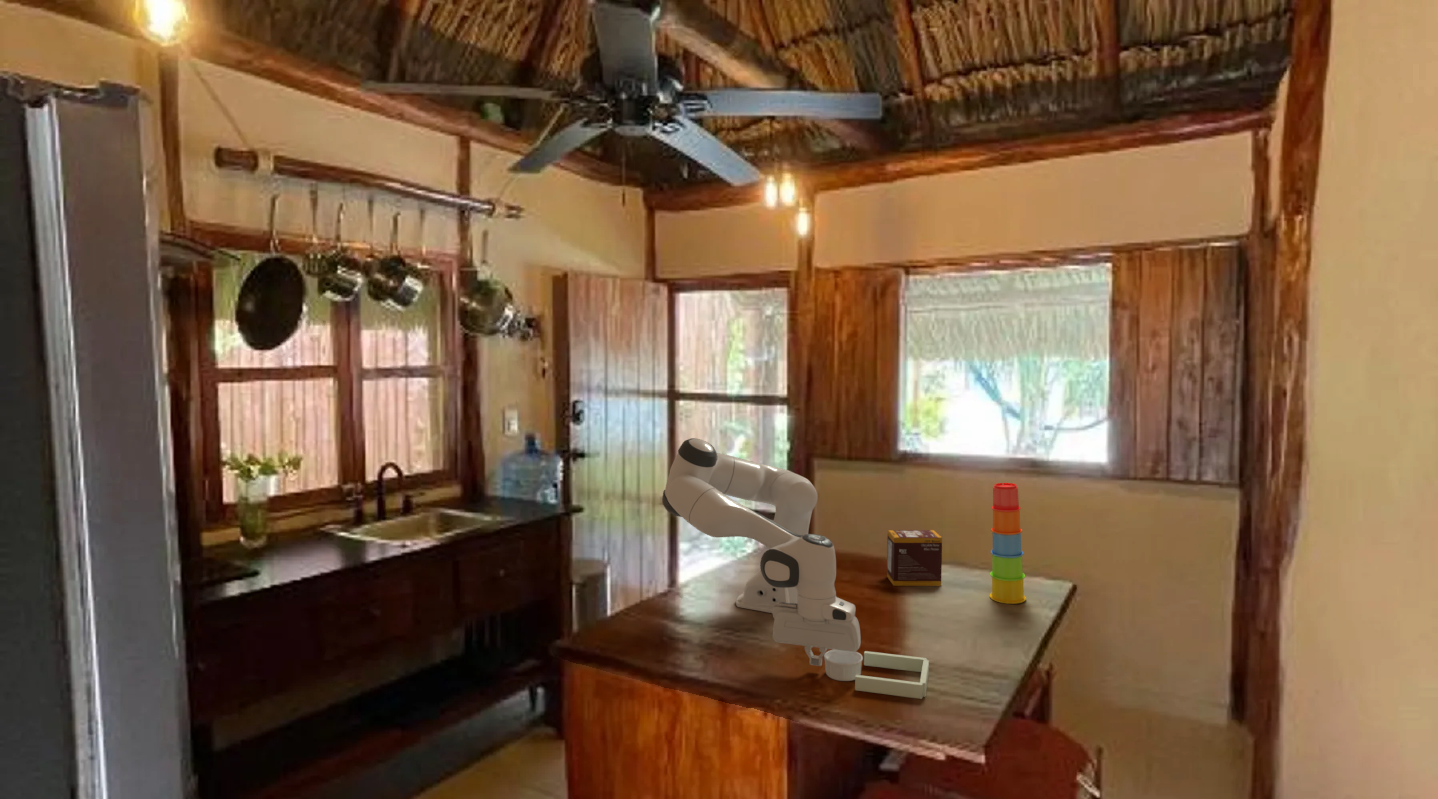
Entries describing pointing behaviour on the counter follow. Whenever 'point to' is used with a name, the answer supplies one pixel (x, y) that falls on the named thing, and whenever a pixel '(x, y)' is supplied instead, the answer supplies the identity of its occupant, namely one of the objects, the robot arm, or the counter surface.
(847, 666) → the ramekin
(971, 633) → the counter surface
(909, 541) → the supplement box
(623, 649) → the counter surface
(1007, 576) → the stacking cups
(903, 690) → the tray frame
